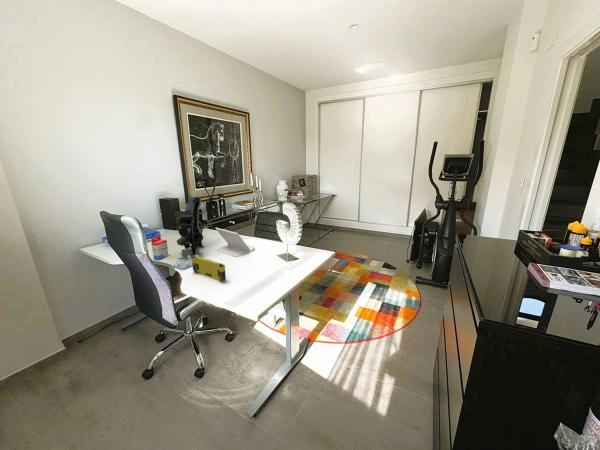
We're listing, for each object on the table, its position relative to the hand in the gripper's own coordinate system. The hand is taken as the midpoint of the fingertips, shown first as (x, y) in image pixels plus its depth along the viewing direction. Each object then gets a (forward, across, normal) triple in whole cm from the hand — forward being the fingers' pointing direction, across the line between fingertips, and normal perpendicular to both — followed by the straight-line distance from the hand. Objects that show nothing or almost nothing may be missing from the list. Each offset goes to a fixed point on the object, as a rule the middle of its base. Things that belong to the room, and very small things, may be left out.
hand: (191, 253), depth 171 cm
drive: (+1, 0, 0) cm, 1 cm away
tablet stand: (+2, +19, +24) cm, 30 cm away
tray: (+1, +12, -11) cm, 16 cm away
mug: (+1, -31, +25) cm, 40 cm away
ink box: (+2, -14, -13) cm, 19 cm away
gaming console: (+2, +38, -16) cm, 42 cm away
